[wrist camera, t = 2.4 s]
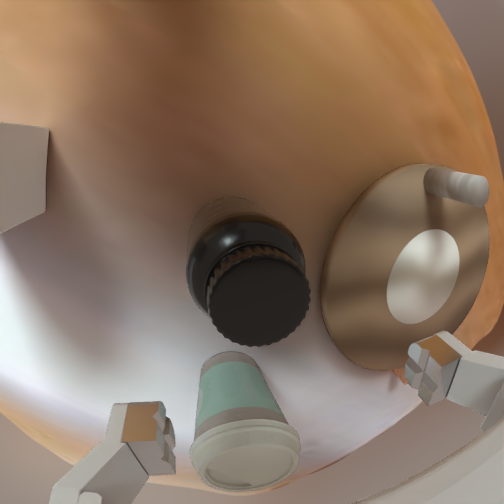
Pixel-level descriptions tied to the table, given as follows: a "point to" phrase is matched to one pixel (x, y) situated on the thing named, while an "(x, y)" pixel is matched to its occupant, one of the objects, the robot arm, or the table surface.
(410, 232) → the turntable
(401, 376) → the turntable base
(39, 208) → the milk carton
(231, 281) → the supplement bottle
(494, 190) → the table surface
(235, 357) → the coffee cup
